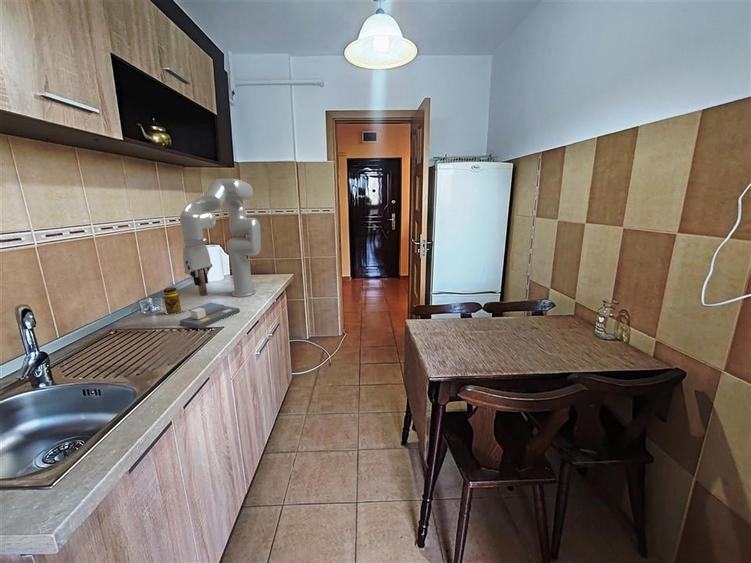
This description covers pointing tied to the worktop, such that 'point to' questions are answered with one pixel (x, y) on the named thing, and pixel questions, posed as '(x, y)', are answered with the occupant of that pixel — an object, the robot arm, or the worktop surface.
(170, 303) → the condiment
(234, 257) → the robot arm
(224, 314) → the switch board
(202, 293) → the dowel
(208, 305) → the tool mat
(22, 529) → the worktop surface
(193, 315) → the white cube
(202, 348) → the worktop surface
